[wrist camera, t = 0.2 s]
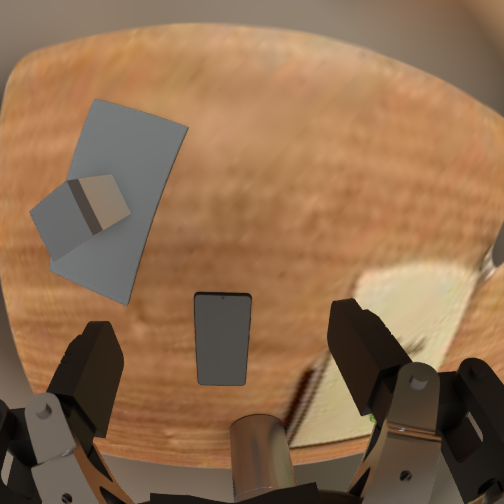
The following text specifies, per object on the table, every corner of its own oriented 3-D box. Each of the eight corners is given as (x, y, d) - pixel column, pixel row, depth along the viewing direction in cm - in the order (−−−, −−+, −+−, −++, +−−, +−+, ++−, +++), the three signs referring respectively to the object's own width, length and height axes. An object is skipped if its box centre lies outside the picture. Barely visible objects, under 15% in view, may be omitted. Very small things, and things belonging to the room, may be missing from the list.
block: (131, 213, 29) (93, 235, 20) (98, 233, 29) (54, 262, 20) (112, 174, 27) (66, 180, 18) (79, 196, 28) (29, 211, 18)
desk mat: (128, 303, 33) (127, 305, 32) (51, 268, 30) (49, 270, 30) (188, 127, 28) (187, 126, 27) (96, 99, 25) (94, 98, 25)
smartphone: (197, 385, 37) (193, 293, 32) (198, 381, 38) (194, 290, 33) (245, 386, 38) (252, 295, 33) (245, 382, 39) (252, 291, 34)
